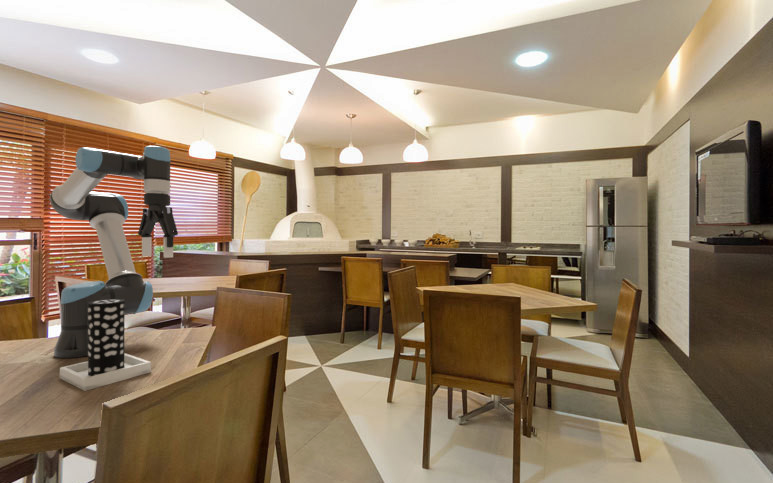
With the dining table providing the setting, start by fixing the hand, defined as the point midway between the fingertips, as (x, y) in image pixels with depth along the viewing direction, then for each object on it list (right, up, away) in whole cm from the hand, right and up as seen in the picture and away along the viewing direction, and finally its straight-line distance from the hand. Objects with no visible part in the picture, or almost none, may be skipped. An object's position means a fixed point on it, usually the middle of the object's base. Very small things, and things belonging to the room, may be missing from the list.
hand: (157, 257), depth 126 cm
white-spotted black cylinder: (-3, -32, -19) cm, 37 cm away
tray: (-3, -33, -19) cm, 38 cm away
